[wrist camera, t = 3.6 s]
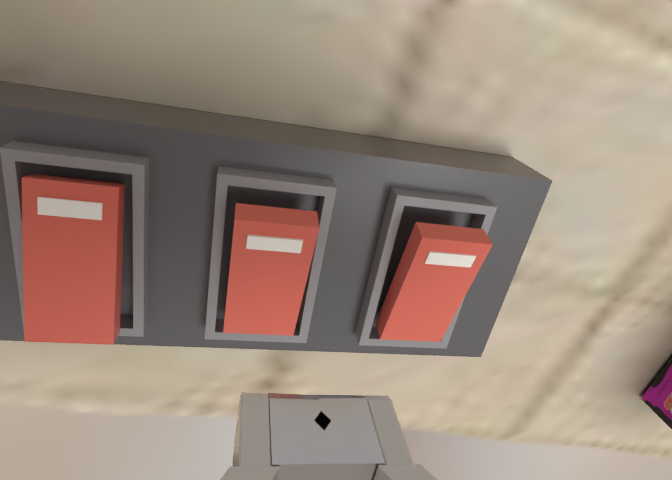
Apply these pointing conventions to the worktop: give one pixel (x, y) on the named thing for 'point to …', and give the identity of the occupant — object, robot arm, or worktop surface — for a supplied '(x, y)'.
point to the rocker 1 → (72, 259)
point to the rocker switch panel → (265, 190)
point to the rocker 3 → (431, 281)
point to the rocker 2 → (268, 268)
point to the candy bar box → (661, 394)
